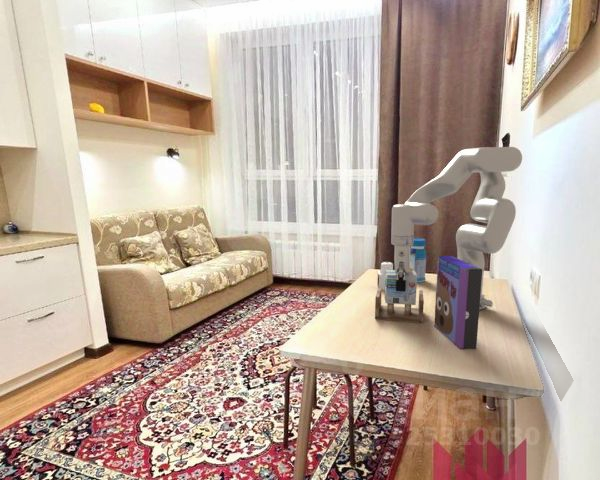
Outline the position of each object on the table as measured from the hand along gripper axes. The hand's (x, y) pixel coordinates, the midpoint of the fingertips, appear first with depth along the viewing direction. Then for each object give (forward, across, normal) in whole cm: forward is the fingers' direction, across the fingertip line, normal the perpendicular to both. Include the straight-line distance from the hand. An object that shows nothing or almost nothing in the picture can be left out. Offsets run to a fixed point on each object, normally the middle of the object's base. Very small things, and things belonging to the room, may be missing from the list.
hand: (401, 287), depth 135 cm
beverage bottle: (+11, +49, -6) cm, 51 cm away
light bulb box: (+6, 0, 0) cm, 6 cm away
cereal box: (+11, -15, -17) cm, 25 cm away
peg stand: (+10, 0, 0) cm, 10 cm away
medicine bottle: (+11, +32, +7) cm, 35 cm away
